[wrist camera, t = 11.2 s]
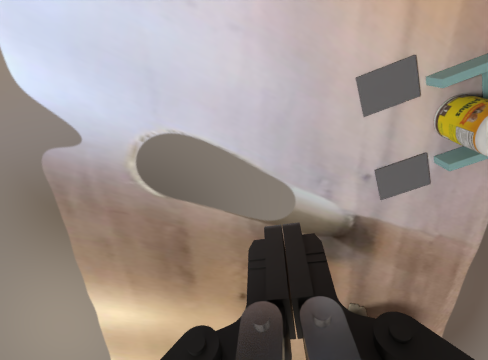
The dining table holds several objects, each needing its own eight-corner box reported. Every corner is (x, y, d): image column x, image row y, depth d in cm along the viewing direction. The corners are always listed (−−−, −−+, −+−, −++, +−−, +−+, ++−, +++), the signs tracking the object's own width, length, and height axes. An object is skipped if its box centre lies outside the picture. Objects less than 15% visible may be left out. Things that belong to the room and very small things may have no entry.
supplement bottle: (473, 85, 35) (559, 99, 26) (477, 126, 37) (558, 152, 28) (427, 105, 36) (495, 126, 27) (434, 143, 38) (499, 175, 29)
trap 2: (355, 77, 34) (356, 77, 34) (414, 54, 33) (415, 54, 33) (363, 116, 36) (364, 116, 36) (419, 95, 35) (420, 96, 35)
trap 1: (374, 170, 39) (375, 170, 39) (425, 152, 38) (426, 153, 38) (380, 199, 41) (381, 200, 41) (429, 183, 40) (430, 184, 40)
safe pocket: (425, 76, 34) (442, 79, 32) (490, 52, 33) (513, 52, 31) (434, 162, 39) (449, 171, 36) (491, 143, 38) (510, 150, 35)
